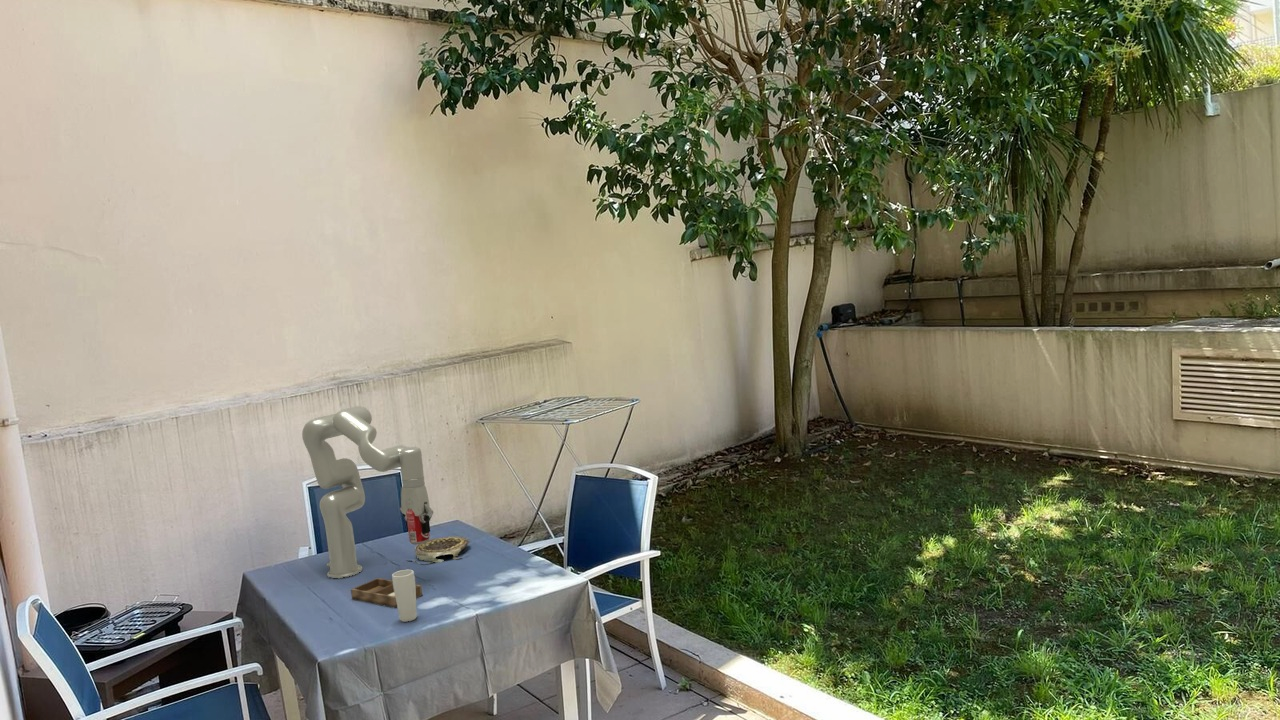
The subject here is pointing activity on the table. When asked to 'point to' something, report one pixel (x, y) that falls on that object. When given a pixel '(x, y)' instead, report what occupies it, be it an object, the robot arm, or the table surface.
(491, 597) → the table surface
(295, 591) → the table surface
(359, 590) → the wooden compartment tray
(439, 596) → the table surface
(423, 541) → the soda can
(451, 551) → the pie
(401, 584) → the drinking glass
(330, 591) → the table surface
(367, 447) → the robot arm
